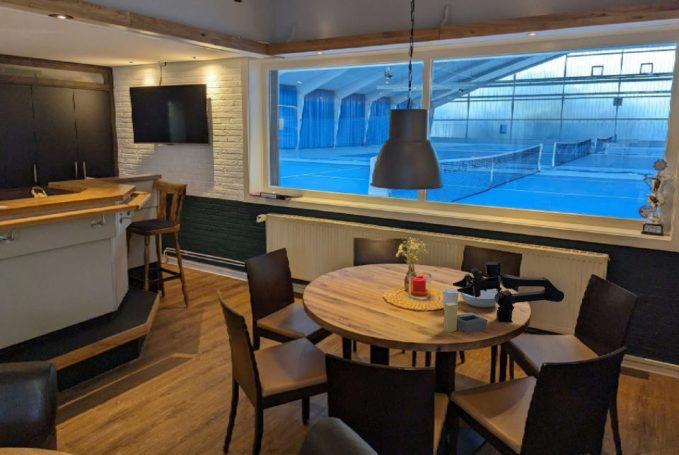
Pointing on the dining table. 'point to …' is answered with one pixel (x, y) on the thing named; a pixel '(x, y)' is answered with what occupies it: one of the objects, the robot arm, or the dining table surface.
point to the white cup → (450, 296)
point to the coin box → (471, 322)
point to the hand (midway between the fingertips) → (455, 287)
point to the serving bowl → (481, 298)
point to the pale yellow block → (450, 317)
